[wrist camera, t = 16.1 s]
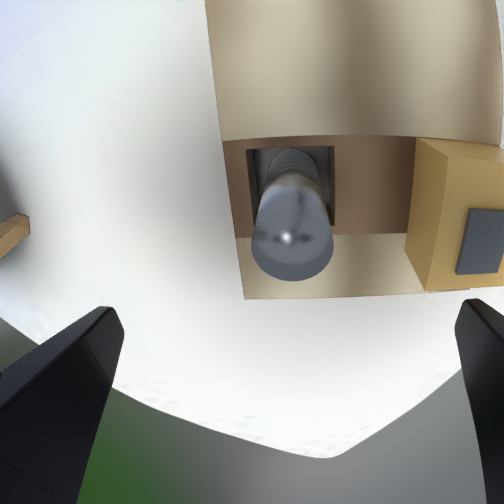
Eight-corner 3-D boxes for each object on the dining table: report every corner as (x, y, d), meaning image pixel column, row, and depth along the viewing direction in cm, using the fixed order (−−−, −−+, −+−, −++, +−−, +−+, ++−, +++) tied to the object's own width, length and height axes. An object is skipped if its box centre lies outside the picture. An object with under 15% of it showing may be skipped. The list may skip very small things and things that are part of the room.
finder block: (498, 146, 12) (542, 170, 9) (479, 249, 15) (510, 288, 12) (416, 137, 13) (451, 158, 9) (404, 250, 16) (426, 295, 13)
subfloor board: (463, -40, 9) (483, -50, 6) (456, 268, 19) (470, 290, 16) (209, -54, 11) (197, -71, 8) (249, 275, 21) (244, 300, 18)
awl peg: (315, 148, 16) (334, 207, 9) (317, 194, 17) (333, 280, 11) (266, 150, 16) (246, 211, 10) (270, 196, 18) (255, 282, 11)
